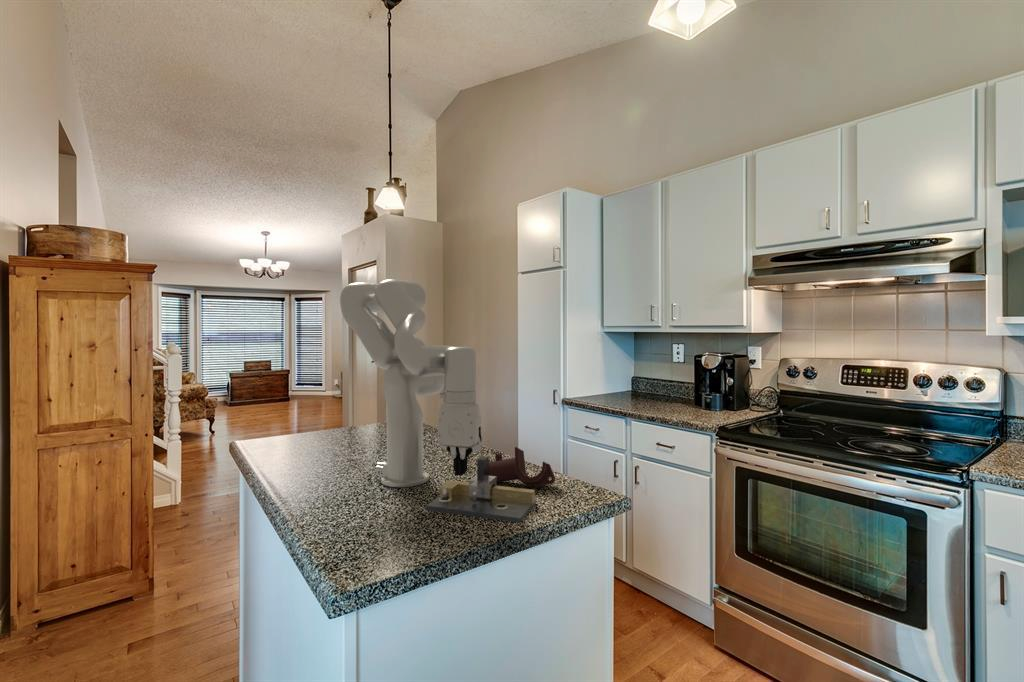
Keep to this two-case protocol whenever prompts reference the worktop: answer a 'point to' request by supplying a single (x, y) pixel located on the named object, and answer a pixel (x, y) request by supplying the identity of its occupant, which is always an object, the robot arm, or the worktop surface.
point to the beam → (497, 492)
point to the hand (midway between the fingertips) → (460, 473)
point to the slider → (482, 480)
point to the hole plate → (482, 508)
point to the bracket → (519, 470)
